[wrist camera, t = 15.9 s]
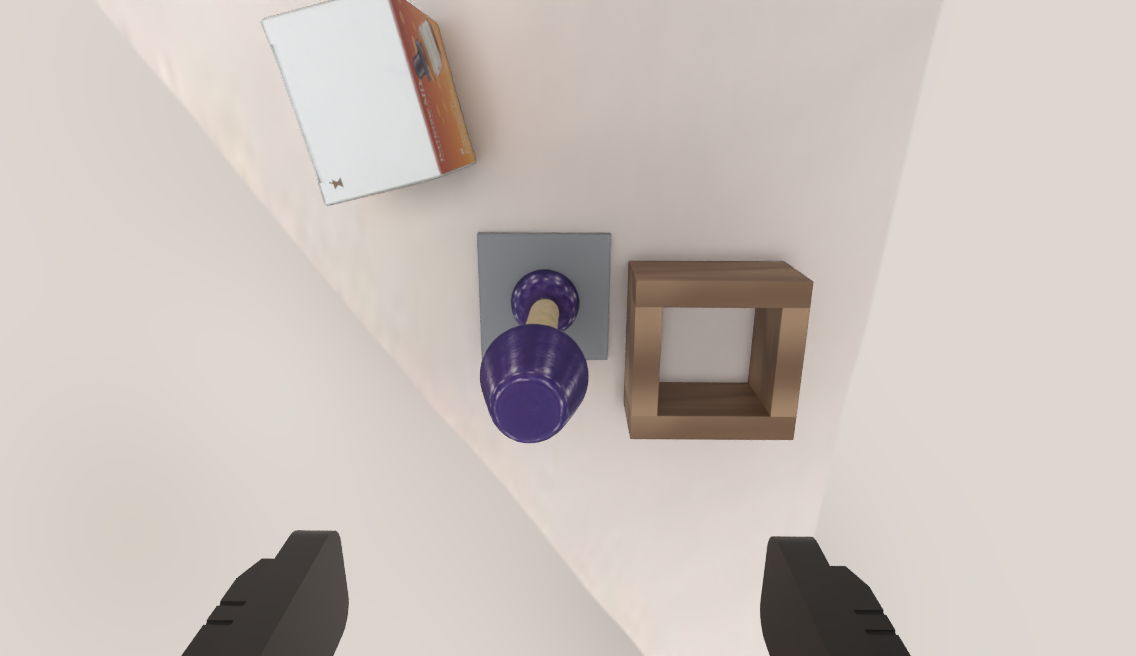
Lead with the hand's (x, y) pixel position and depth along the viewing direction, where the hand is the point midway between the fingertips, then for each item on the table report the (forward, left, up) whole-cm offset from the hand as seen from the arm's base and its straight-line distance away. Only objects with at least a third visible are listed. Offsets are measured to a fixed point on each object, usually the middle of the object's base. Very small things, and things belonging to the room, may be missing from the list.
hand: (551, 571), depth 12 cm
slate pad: (+3, -1, -29) cm, 29 cm away
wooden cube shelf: (+5, +9, -29) cm, 31 cm away
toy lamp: (+3, -1, -29) cm, 29 cm away
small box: (-9, -9, -30) cm, 32 cm away
